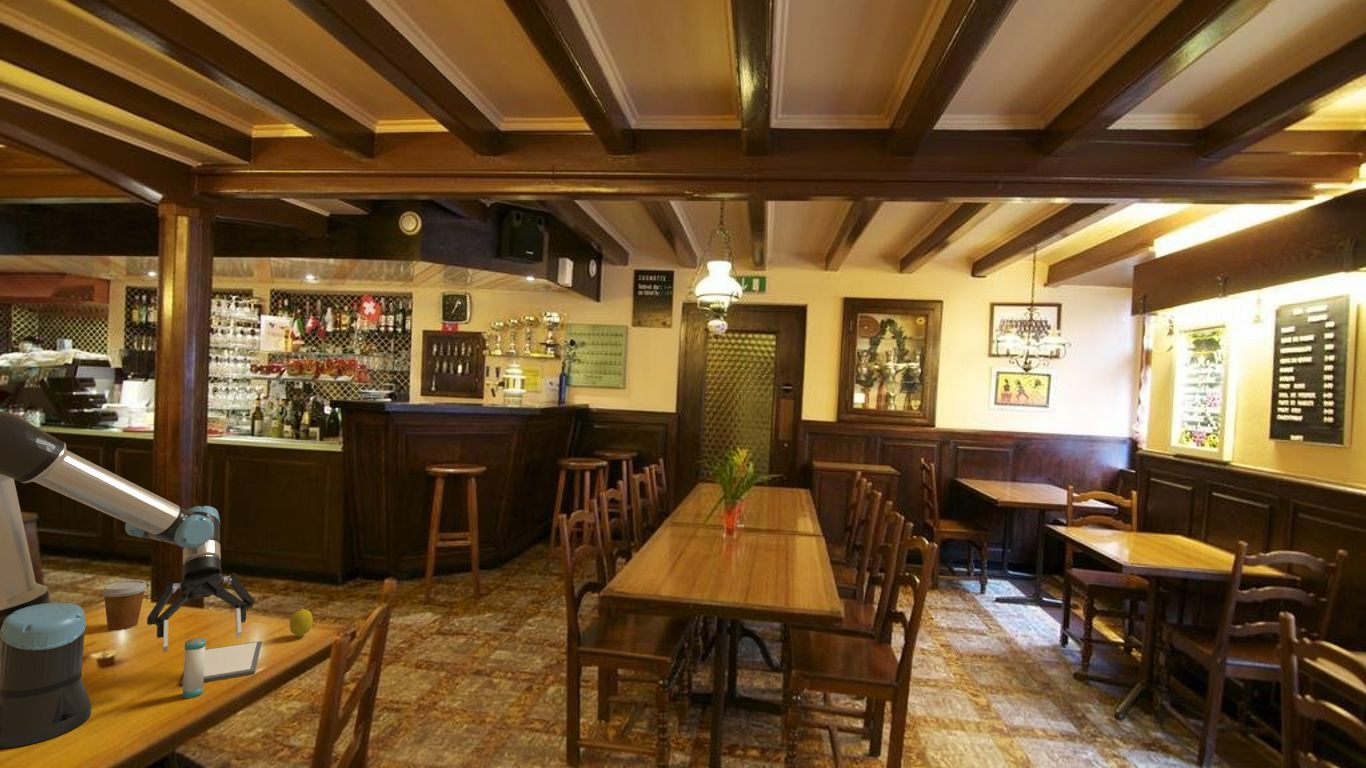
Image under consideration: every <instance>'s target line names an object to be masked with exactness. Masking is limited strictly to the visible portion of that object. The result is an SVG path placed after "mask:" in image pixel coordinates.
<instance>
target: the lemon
mask: <svg viewBox="0 0 1366 768" xmlns="http://www.w3.org/2000/svg"><path fill="white" fill-rule="evenodd" d="M313 621H314V618H313V614H312V612H311V611H310V610H308V609H305V608H303V607H302V608H300V609H299V610H297V611H295V612H294V613H292V615H291V617H290V620H289V629H290V630H289V631H290V633H292V634H293V635H294V636H297V637H298V638H303V636H305V635H306V634H308V632H310V630H311V629H312V626H313V623H314V622H313Z"/></svg>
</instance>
